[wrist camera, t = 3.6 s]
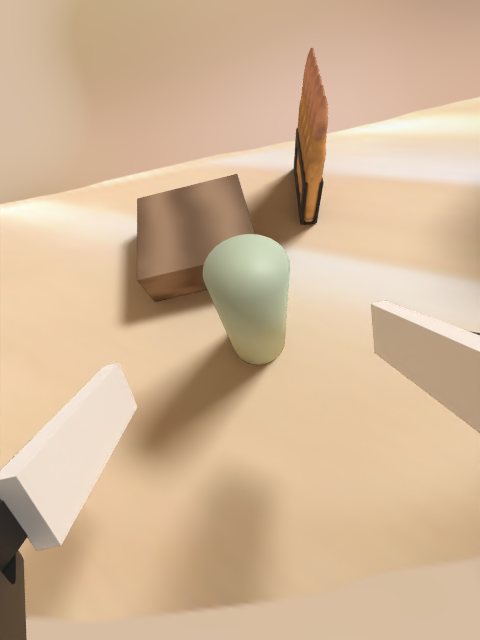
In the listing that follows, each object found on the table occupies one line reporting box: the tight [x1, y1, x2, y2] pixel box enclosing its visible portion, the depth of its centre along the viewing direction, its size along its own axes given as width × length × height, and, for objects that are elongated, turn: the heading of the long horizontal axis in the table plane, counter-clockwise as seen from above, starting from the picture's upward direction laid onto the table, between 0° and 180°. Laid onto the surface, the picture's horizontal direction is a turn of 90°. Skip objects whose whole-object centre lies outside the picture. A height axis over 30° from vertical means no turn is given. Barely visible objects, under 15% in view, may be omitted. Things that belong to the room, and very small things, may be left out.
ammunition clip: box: [294, 48, 328, 224], centre depth 27 cm, size 11×2×12 cm, turn 179°
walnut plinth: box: [137, 174, 255, 301], centre depth 29 cm, size 12×12×4 cm
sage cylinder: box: [203, 234, 290, 365], centre depth 19 cm, size 5×5×11 cm
